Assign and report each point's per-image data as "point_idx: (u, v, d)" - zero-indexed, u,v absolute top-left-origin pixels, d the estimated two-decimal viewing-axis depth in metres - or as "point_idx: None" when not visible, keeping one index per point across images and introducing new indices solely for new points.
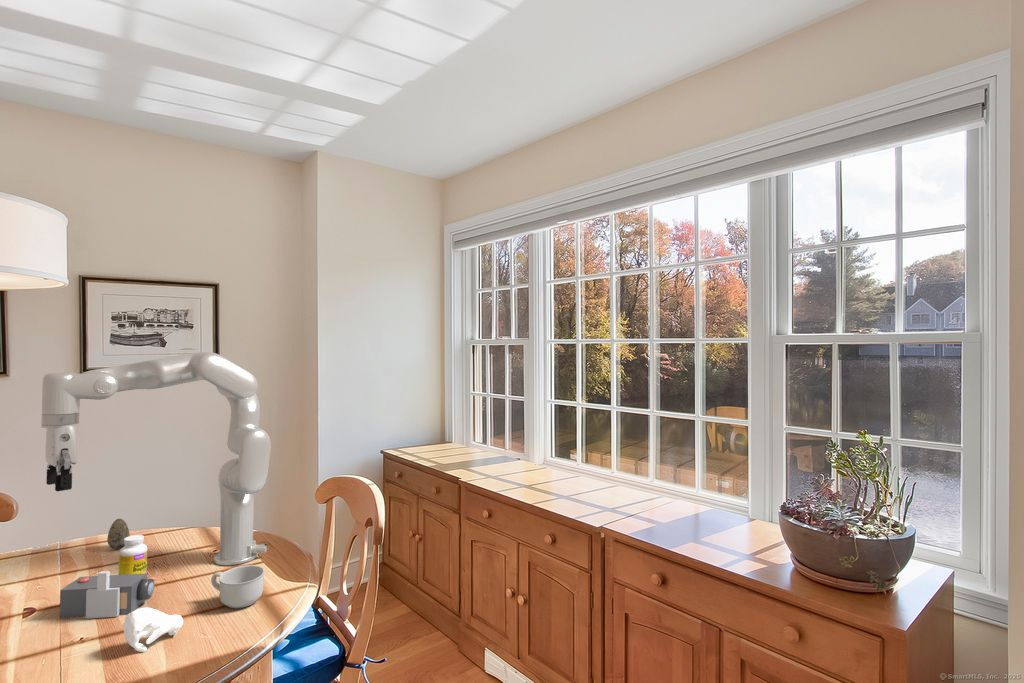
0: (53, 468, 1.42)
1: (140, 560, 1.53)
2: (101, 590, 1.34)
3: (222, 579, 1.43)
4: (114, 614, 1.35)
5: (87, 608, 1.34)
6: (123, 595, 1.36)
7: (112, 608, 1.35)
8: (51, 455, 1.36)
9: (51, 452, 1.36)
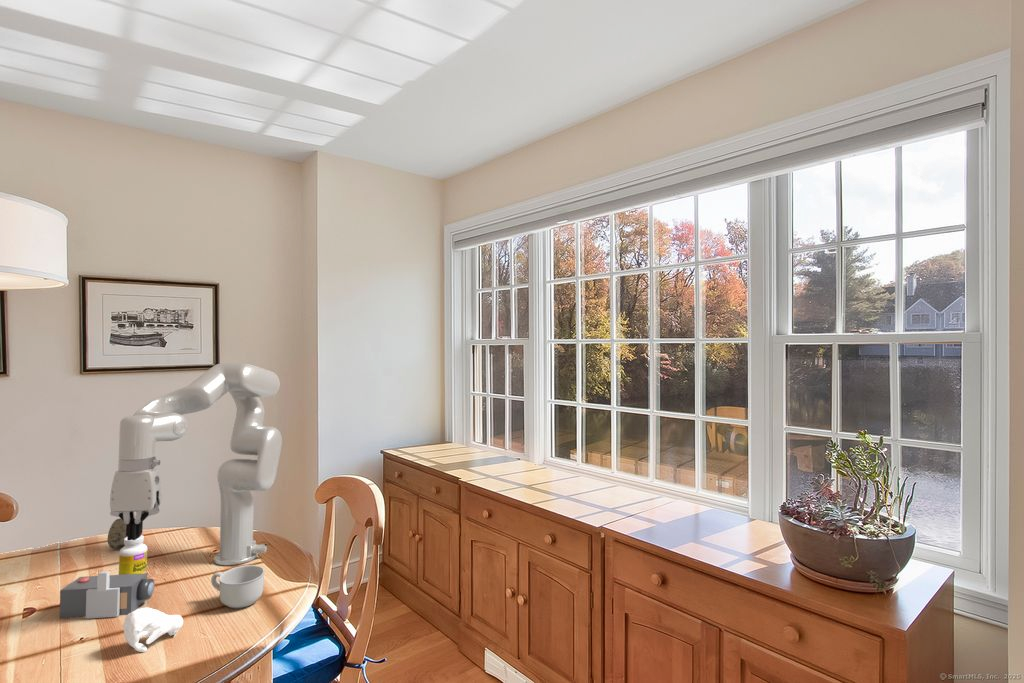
0: (132, 522, 1.36)
1: (140, 560, 1.53)
2: (101, 590, 1.34)
3: (222, 579, 1.43)
4: (114, 614, 1.35)
5: (87, 608, 1.34)
6: (123, 595, 1.36)
7: (112, 608, 1.35)
8: (145, 500, 1.35)
9: (145, 497, 1.35)
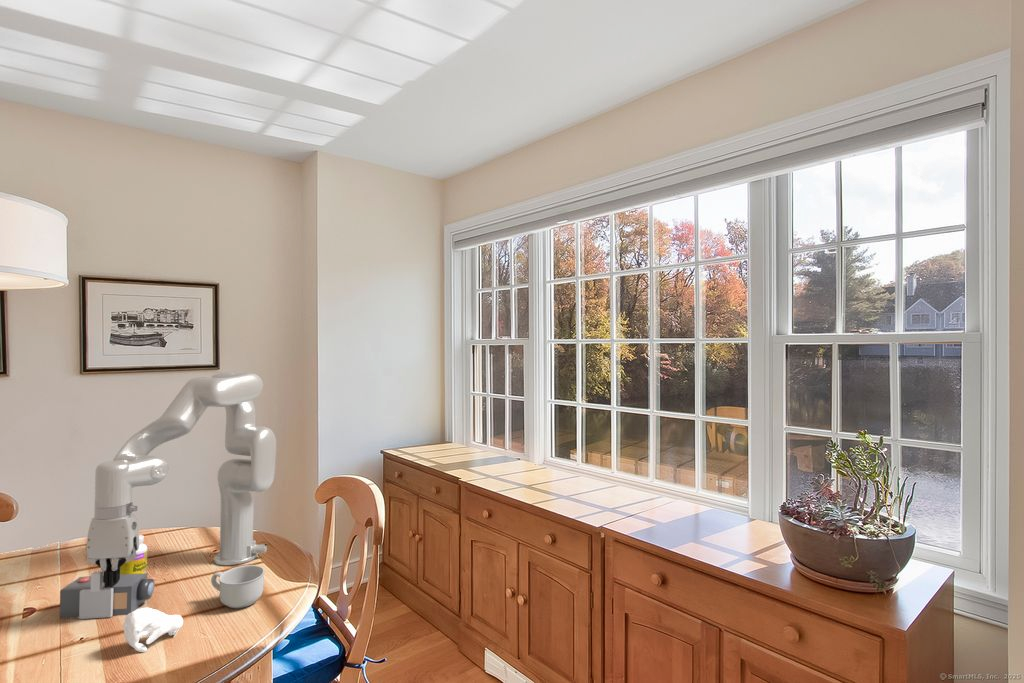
0: (110, 569, 1.35)
1: (140, 560, 1.53)
2: (94, 590, 1.34)
3: (222, 579, 1.43)
4: (107, 615, 1.35)
5: (80, 608, 1.34)
6: (123, 595, 1.36)
7: (105, 608, 1.34)
8: (121, 547, 1.34)
9: (122, 544, 1.34)
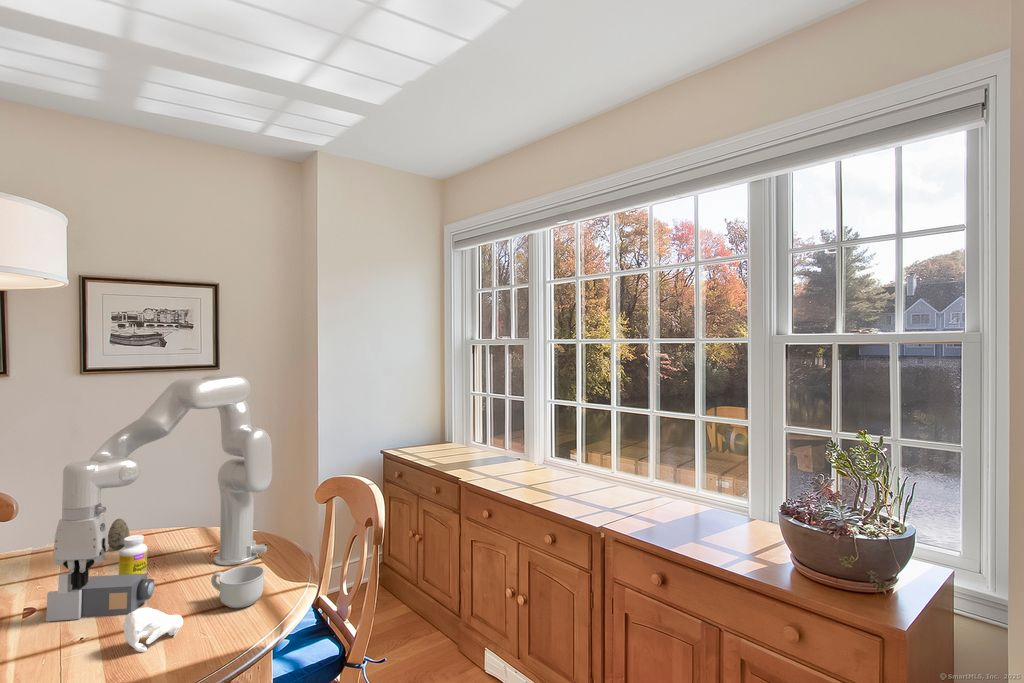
0: (78, 571, 1.34)
1: (140, 560, 1.53)
2: (62, 592, 1.33)
3: (222, 579, 1.43)
4: (75, 617, 1.33)
5: (48, 610, 1.32)
6: (123, 595, 1.36)
7: (73, 610, 1.33)
8: (89, 548, 1.32)
9: (90, 545, 1.32)
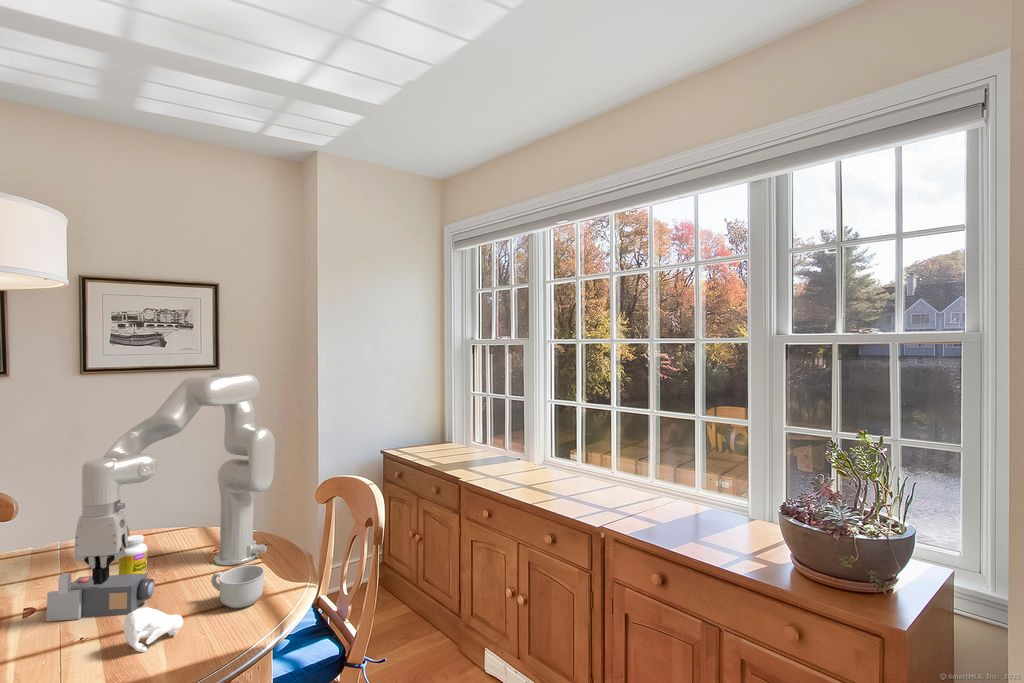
0: (99, 566, 1.35)
1: (140, 560, 1.53)
2: (62, 592, 1.33)
3: (222, 579, 1.43)
4: (75, 617, 1.33)
5: (48, 610, 1.32)
6: (123, 595, 1.36)
7: (73, 610, 1.33)
8: (110, 544, 1.34)
9: (110, 541, 1.33)
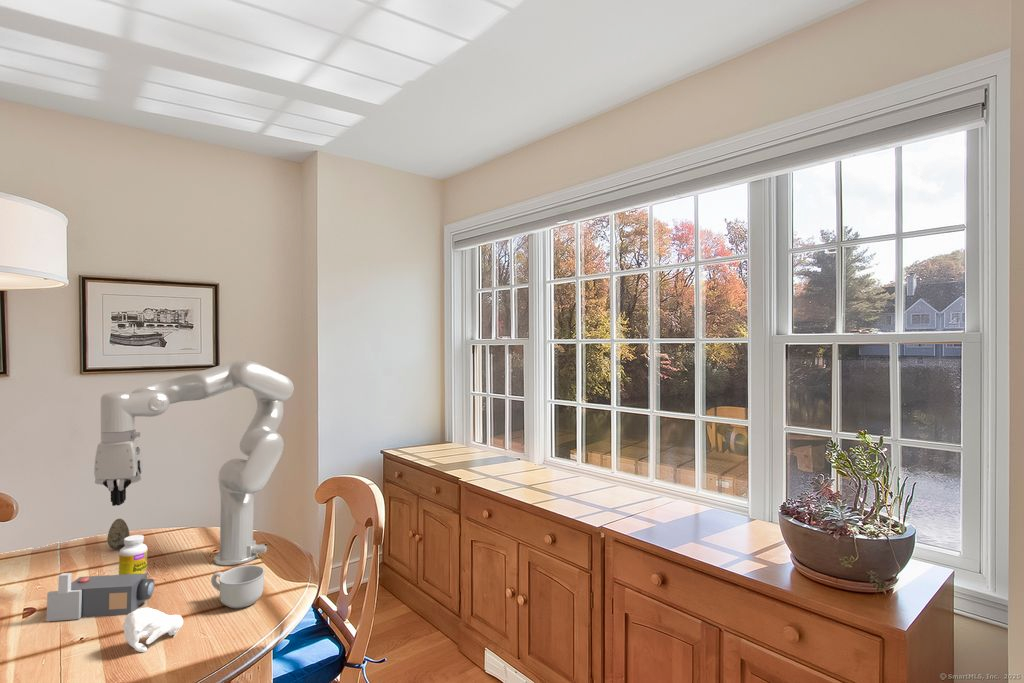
0: (116, 489, 1.48)
1: (140, 560, 1.53)
2: (62, 592, 1.33)
3: (222, 579, 1.43)
4: (75, 617, 1.33)
5: (48, 610, 1.32)
6: (123, 595, 1.36)
7: (73, 610, 1.33)
8: (127, 468, 1.47)
9: (127, 466, 1.47)
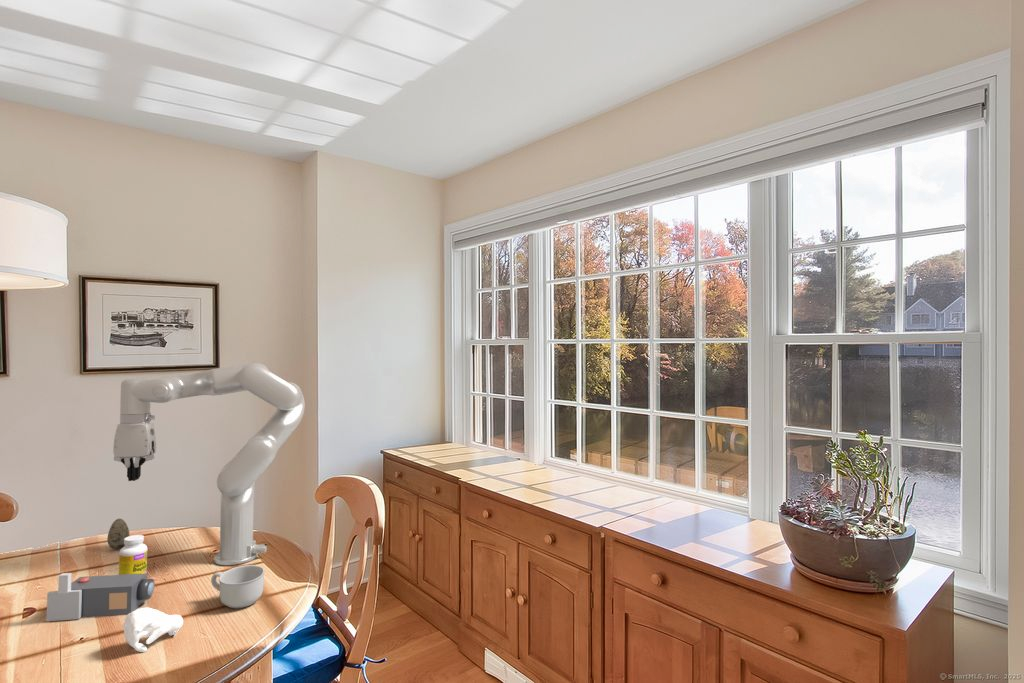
0: (132, 466, 1.64)
1: (140, 560, 1.53)
2: (62, 592, 1.33)
3: (222, 579, 1.43)
4: (75, 617, 1.33)
5: (48, 610, 1.32)
6: (123, 595, 1.36)
7: (73, 610, 1.33)
8: (142, 447, 1.63)
9: (142, 445, 1.63)
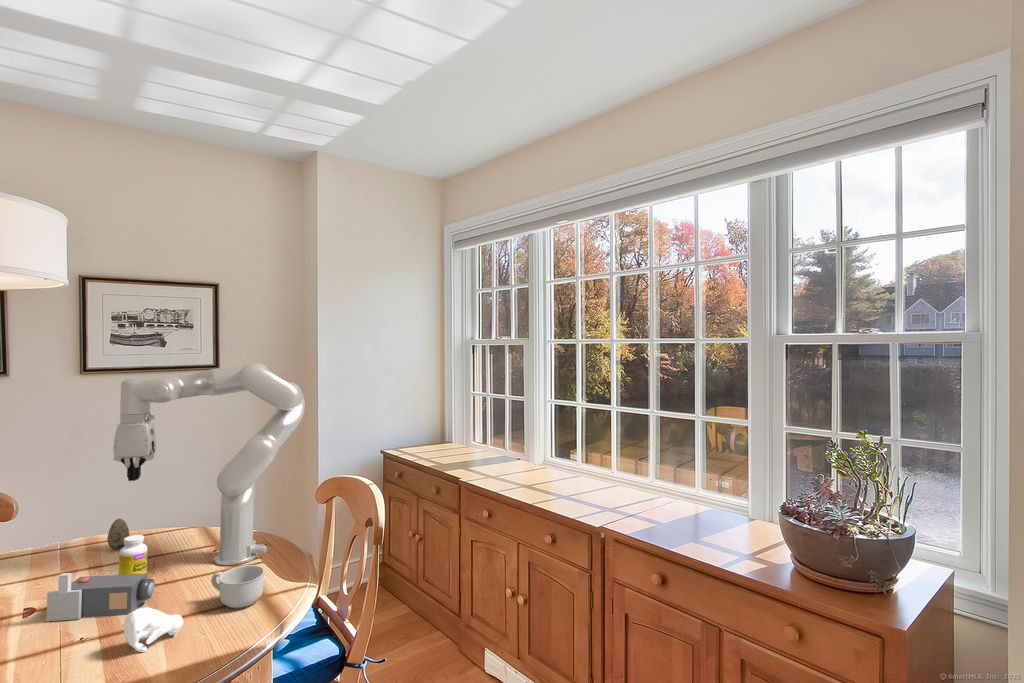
0: (132, 466, 1.64)
1: (140, 560, 1.53)
2: (62, 592, 1.33)
3: (222, 579, 1.43)
4: (75, 617, 1.33)
5: (48, 610, 1.32)
6: (123, 595, 1.36)
7: (73, 610, 1.33)
8: (142, 447, 1.63)
9: (142, 445, 1.63)
